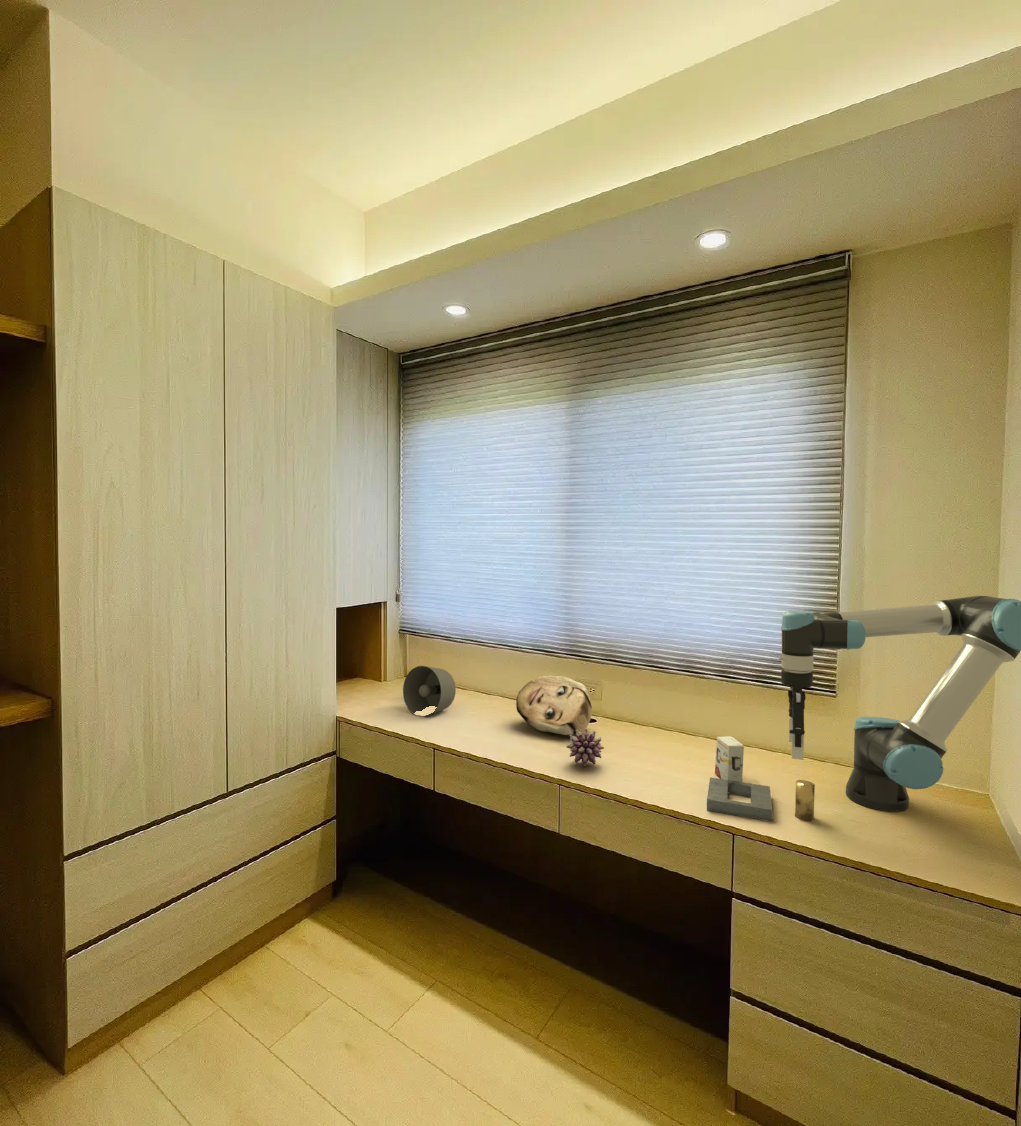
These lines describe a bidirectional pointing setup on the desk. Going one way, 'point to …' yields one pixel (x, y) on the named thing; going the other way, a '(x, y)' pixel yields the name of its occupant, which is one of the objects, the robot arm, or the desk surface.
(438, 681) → the light fixture
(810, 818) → the cylinder
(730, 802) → the frame
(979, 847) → the desk surface
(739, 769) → the ink box
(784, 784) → the desk surface
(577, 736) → the purple spiky ball
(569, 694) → the head sculpture
